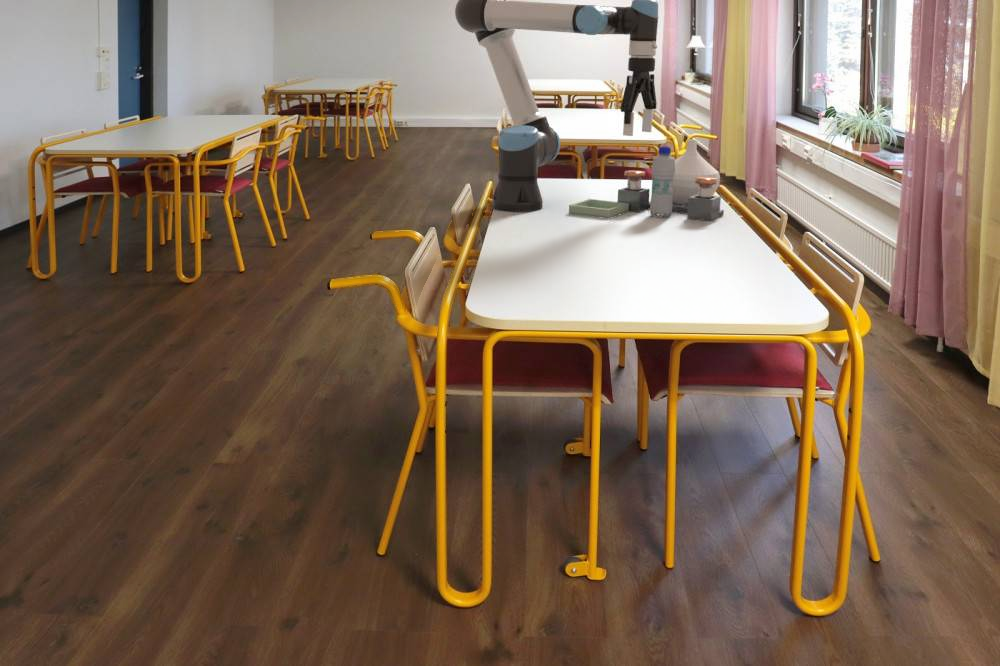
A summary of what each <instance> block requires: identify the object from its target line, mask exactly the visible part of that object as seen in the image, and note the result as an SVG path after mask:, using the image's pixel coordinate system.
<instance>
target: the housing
mask: <svg viewBox="0 0 1000 666" xmlns="http://www.w3.org/2000/svg"><path fill="white" fill-rule="evenodd" d="M650 192H651V191H650V188H644V187H641V191H629V190H627V186H626V187H623V188H620V189H618V190H617V202H622V203H629V212H630V213H642V212H644V211H647V210H650V203H651V201H650ZM721 198H722V197H721V196H720V195H713V196H712V199H704V198H698V194H696V195H694V196H691V197H689V199H688V205H680V204H672V213H677V214H679V213H681V214H686V215H687V216H686V219H689V220H698V221H705V222H707V221H708V222H711V221H714V220H716V219H718V217H719V218H721V217H723V216H724V209H723V210H722V209H721ZM722 215H723V216H722ZM720 216H721V217H720Z"/></svg>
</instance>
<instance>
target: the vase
mask: <svg viewBox="0 0 1000 666" xmlns="http://www.w3.org/2000/svg"><path fill="white" fill-rule="evenodd" d="M697 144H698V139H687V142H686V148H685V151H684V152H683V153H682V154H681V155H680V156H679V157H676V159H675V175H674V177H673V193H672V204H674V205H681V206H688V199H689V197H691V196H694V195H696V194H698V185H699V184H697V183H695V178H697V177H711V178H716V179H717V184H713V190H712V196H715V193H716V191H717V190H718V187H719V186H720V179H721V176H720V172H719V171H718V170H717V169H716V168H714V166H712V165H711V164H710V163H709V162H708V161H707V160H705V158H704V157H702V156H701V155H700V153H699V152H698V150H697V146H698V145H697Z"/></svg>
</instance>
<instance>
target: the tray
mask: <svg viewBox="0 0 1000 666" xmlns="http://www.w3.org/2000/svg"><path fill="white" fill-rule="evenodd" d="M626 212H627V213H628V212H629V203H622V202H618V201H614V200H613V201H611V200H604V199H603V200H602V199H597V198H596V199H595V198H593V199H592V198H587V199H584V200H581V201H578V202H576V203H572V204H569V205H568V214H569V215H576V216H584V217H585V216H586V217H591V216H593V217H594V218H599V217H602V218H601V219H608V218H610V219H612V218H611V217H613V218H615V217H614V216H616V217H618V216H620V215H619V214H621V215H623V213H624V214H627V213H626ZM617 215H618V216H617ZM593 217H592V218H593Z"/></svg>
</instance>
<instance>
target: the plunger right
mask: <svg viewBox="0 0 1000 666" xmlns="http://www.w3.org/2000/svg"><path fill="white" fill-rule="evenodd" d="M695 183H697V184H699V185H698V198H704V199H712V190H713V184H717V179H716V178H711V177H697V178H695Z"/></svg>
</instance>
